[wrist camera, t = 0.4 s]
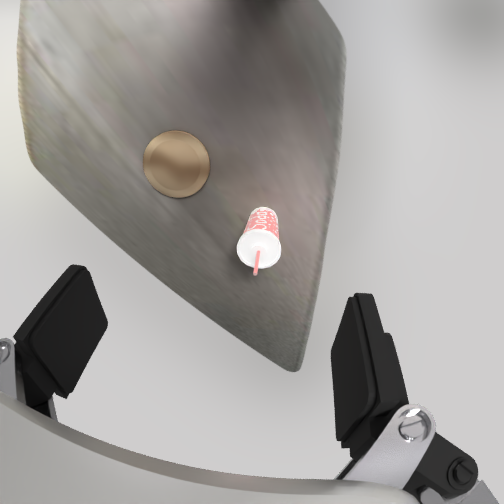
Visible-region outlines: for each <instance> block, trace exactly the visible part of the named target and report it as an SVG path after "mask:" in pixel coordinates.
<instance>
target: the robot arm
mask: <svg viewBox="0 0 504 504" xmlns="http://www.w3.org/2000/svg"><path fill="white" fill-rule="evenodd" d="M107 326H108V321H107V318H106V315H105V313H104V310H103V308H102V305H101V302H100V300H99V297H98V294H97V292H96V289H95V286H94V283H93V280H92V277H91V275H90V272H89V271H88V270H87V268H86V267H85V266H80V265H70V266H69V267H68V269H67V270H66V271H65V272H64V273H63V274H62V275H61V276H60V278H59V279H58V280H57V281H56V282H55V283H54V285H53V286H52V287H51V288H50V289H49V291H48V292H47V293H46V294H45V295H44V297H43V298H42V299H41V300H40V302H39V303H38V304H37V305H36V307H35V308H34V309H33V310H32V312H31V313H30V315H29V316H28V317H27V318H26V320H25V321H24V322H23V324H22V325H21V326H20V328H19V329H18V330H17V332H16V333H15V335H14V336H13V337H14V339H15V340H16V344H15V345H14V343H13V342H12V340H10V339H7V338H3V339H0V504H499V503H498V501H497V500H496V498H495V497H494V496H493V494H492V493H491V491H490V490H489V489H488V487H487V486H486V484H485V483H484V482H483V481H482V480H481V481H478V479H477V477H478V467H477V464H476V462H475V460H474V459H473V458H472V457H471V456H469V455H468V454H466V453H465V452H463V451H462V450H461V449H459V448H458V447H456V446H454V445H453V444H452V443H450V442H449V441H447V440H446V439H445V438H443V437H442V436H440V435H439V434H437V433H436V432H435V431H436V423H435V420H434V417H433V415H432V414H431V412H430V411H429V410H427V409H426V408H425V407H423V406H421V405H418V404H409V401H408V397H407V392H406V388H405V384H404V379H403V375H402V372H401V367H400V364H399V360H398V356H397V352H396V349H395V346H394V342H393V339H392V336H391V335H390V333H384V331H383V327H382V324H381V320H380V317H379V313H378V310H377V306H376V303H375V300H374V297H373V295H372V294H367V293H355V294H354V296H353V297H349V298H348V301H347V304H346V307H345V310H344V313H343V316H342V320H341V323H340V326H339V329H338V332H337V335H336V338H335V341H334V343H333V346H332V349H331V366H332V378H333V390H334V407H335V426H336V439H337V441H341V447H342V448H350V457H352V459H351V460H350V461H349V463H348V464H347V465H346V466H345V467H344V468H343V470H342V471H341V472H340V473H339V474H338V475H337V476H336V477H335V478H334V480H321V479H320V480H319V479H286V478H269V477H258V476H247V475H239V474H231V473H224V472H217V471H211V470H205V469H200V468H195V467H189V466H185V465H180V464H176V463H172V462H168V461H164V460H160V459H156V458H153V457H149V456H146V455H142V454H139V453H136V452H132V451H129V450H126V449H123V448H120V447H117V446H115V445H112V444H109V443H106V442H103V441H101V440H98V439H96V438H93V437H91V436H88V435H86V434H84V433H81V432H79V431H76V430H74V429H72V428H70V427H68V426H65V425H63V424H61V423H59V422H58V420H57V416H56V411H55V407H54V402H53V397H52V395H53V393H54V392H55V393H56V395H58V396H61V397H63V398H65V399H67V397H68V395H69V393H72V392H73V390H74V388H75V386H76V384H77V382H78V380H79V378H80V376H81V375H82V373H83V371H84V369H85V367H86V365H87V363H88V361H89V359H90V358H91V356H92V354H93V352H94V350H95V349H96V347H97V345H98V343H99V341H100V340H101V338H102V336H103V334H104V332H105V331H106V329H107Z"/></svg>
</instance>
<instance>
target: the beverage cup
mask: <svg viewBox="0 0 504 504" xmlns="http://www.w3.org/2000/svg"><path fill="white" fill-rule="evenodd" d="M237 254H238V256H239V258H240V260H241V261H243V262H244V263H245V264H246V265H248V266H250V267H253V268H254V272H253V275H255V276H256V275H257V272H258V268H262V269H263V268H267V267H270V266H272V265H273V264H275V263H276V262H277V261H278V259H279V258H280V256H281V244H280V242H279V233H278V218H277V215H276V213H275V212H274V211H273V210H272V209H269V208H267V207H259V208H256V209H255V210H254V211H252V213H251V215H250V217H249V220H248V222H247V225H246V228H245V230H244V233H243V235H242V236H241V237H240V239H239V242H238V244H237Z"/></svg>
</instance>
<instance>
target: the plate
mask: <svg viewBox="0 0 504 504" xmlns="http://www.w3.org/2000/svg"><path fill="white" fill-rule="evenodd" d="M143 168H144V172H145V175H146V177H147V179H148V181H149V182H150V184H151V185H152V186H153V187H154V188H155V189H156V190H157V191H159V192H161V193H162V194H164V195H167V196H170V197H176V198H181V197H187V196H190V195H192V194H194V193H196V192H197V191H198V190H199V189H200V188H201V187H202V186H203V185H204V183H205V182H206V180H207V178H208V175H209V171H210V159H209V155H208V153H207V150H206V148H205V147H204V145H203V144H202V143H201V142H200V141H199V140H198V139H197V138H196V137H195V136H193V135H191V134H189V133H187V132H184V131H177V130H173V131H167V132H164V133H162V134H160V135H158V136H157V137H155V138H154V139H153V140H152V141H151V142H150V143H149V144H148V146H147V148H146V150H145V152H144V156H143Z"/></svg>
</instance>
